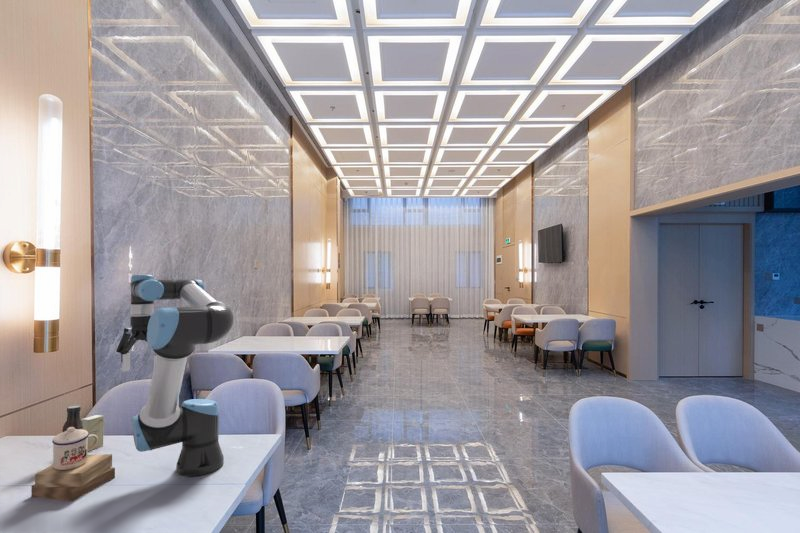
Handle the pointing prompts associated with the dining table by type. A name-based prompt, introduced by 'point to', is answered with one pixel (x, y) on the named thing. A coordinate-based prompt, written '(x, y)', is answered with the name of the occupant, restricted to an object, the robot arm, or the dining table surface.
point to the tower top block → (74, 473)
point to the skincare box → (94, 429)
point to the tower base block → (73, 488)
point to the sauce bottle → (73, 418)
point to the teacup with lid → (71, 448)
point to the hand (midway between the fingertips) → (141, 371)
